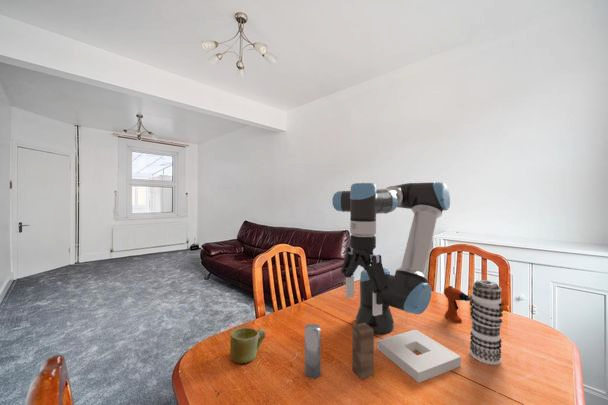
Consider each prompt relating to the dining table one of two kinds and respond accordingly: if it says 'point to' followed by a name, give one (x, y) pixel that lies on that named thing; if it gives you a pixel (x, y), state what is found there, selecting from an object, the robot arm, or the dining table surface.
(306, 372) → the round peg
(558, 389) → the dining table surface
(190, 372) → the dining table surface
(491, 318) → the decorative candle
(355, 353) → the square peg
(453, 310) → the toy drill
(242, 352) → the mug
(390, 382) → the dining table surface
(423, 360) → the socket plate
